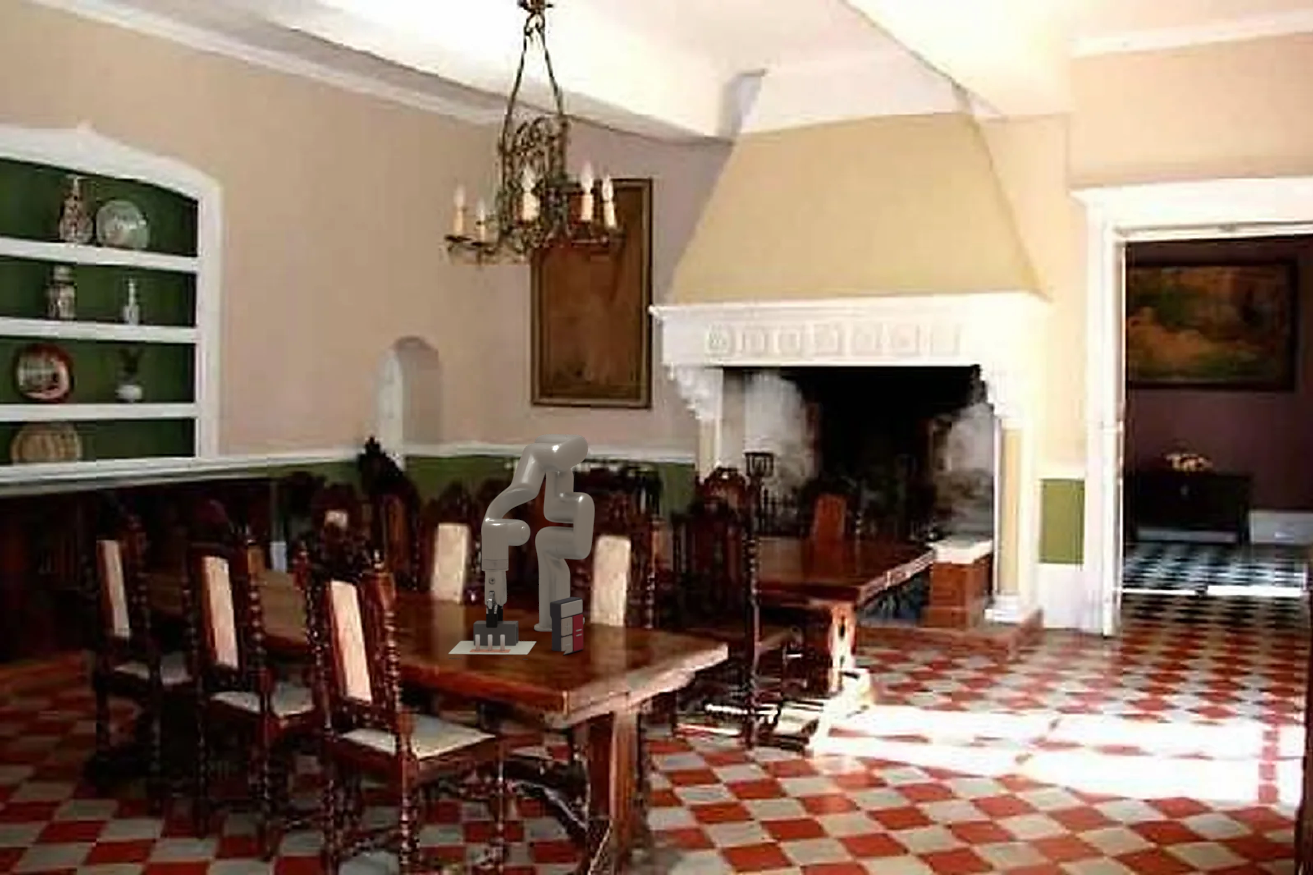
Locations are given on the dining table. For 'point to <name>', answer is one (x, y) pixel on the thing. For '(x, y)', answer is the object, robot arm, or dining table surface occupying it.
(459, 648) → the header board
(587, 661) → the dining table surface
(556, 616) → the miniature cabinet
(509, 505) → the robot arm
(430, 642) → the dining table surface
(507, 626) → the housing
